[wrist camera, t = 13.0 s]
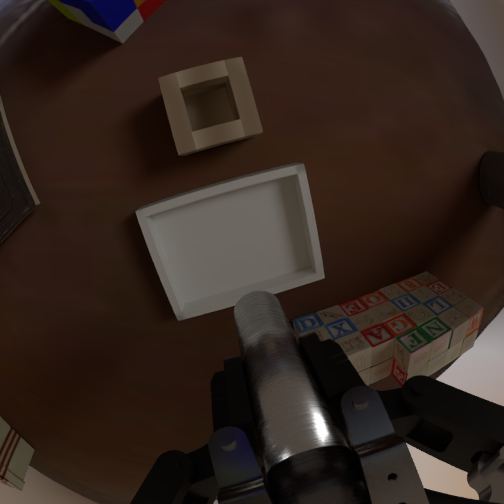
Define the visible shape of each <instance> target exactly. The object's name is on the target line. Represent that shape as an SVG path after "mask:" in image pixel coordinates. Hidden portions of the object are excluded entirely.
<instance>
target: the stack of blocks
mask: <svg viewBox="0 0 504 504" xmlns="http://www.w3.org/2000/svg"><path fill="white" fill-rule="evenodd" d="M482 313H483V307H482V306H480V305H478V304H477V303H475V302H474V301H472V300H471V299H469V298H468V297H467V296H465V295H464V294H463V293H461V292H459V291H458V290H456V289H455V288H452V287H451V286H449V285H448V284H446V283H444V282H443V281H441V280H439V279H438V278H437V277H435V276H434V275H432V274H430V273H429V272H427V271H426V272H424V273H421V274H419V275H416V276H414V277H410V278H408V279H405V280H402V281H400V282H397V283H395V284H392V285H389V286H387V287H384V288H381V289H379V290H378V291H375V292H373V293H370V294H367V295H365V296H362V297H360V298H358V299H355V300H351V301H349V302H346V303H343V304H340V305H335V306H333V307H330V308H327V309H323V310H320V311H317V312H315V313H311V314H308V315H305V316H302V317H299V318H295V319H293V326H294V331H295V335H296V338H297V340H298V342H299V339H298V337H300V336H303V335H306V334H309V333H312V332H316V334H317V335H318V337H319V339H320V341H324V340H327V339H332V340H333V341H335V342H337V343H338V344H339V345H340V346H341V348H342V349H343V351H344V353H345V354H346V355H347V357H348V359H349V360H350V361H351V363H352V364H353V366H354V367H355V369H356V371H357V372H358V374H359V375H360V377H361V378H362V380H363V381H364V383H365V384H366V385H369V384H372V383H374V382H376V381H379V380H381V379H383V378H385V377H387V376H388V375H390V374H391V373H392V376H393V377H394V378H395V379H396V380H397V382H398V383H399V384H400V386H401V387H402V386H403V384H404V382H405V381H406V380H408V379H409V378H411V377H413V376H417V375H424V376H430V375H431V374H433V373H434V372H436V371H438V370H439V369H441V368H442V367H443V366H445V365H447V364H448V363H450V362H451V361H453V360H454V359H456V358H457V357H458V356H460V355H462V354H463V353H465V352H466V351H467V350H469V349H470V348H472V347H473V345H474V342H475V339H476V336H477V332H478V328H479V325H480V321H481V317H482Z"/></svg>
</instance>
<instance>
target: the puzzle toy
mask: <svg viewBox="0 0 504 504" xmlns="http://www.w3.org/2000/svg"><path fill="white" fill-rule="evenodd" d="M48 1H49V2H50V3H51V4H52V5H54V6H55V7H56V8H57V9H58V10H59V11H60V12H61V13H63V14H64V15H65V16H66V17H67V18H68V19H70V20H73V21H75V22H78V23H80V24H82V25H85V26H87V27H89V28H91V29H94V30H96V31H98V32H100V33H102V34H104V35H106V36H108V37H110V38H112V39H114V40H116V41H118V42H120V43H122V44H123V43H124V42H125V41H126V40H127V39H128V38H129V36H130V35H131V34H132V33H133V32H134V31H135V30H136V29H137V28H138V27H139V26H140V25H141V24H142V23H143V22H144V21H145V20H146V19H147V18H148V17H149V16H150V15H151V14H152V13H153V12H154V11H155V10H156V9H157V8H158V7H159V6H160V5H161V4H163V3H164V2H165V1H166V0H48Z"/></svg>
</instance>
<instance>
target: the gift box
mask: <svg viewBox="0 0 504 504" xmlns="http://www.w3.org/2000/svg"><path fill="white" fill-rule="evenodd" d="M33 453H34V449H33V448H32V447H31V446H30V445H29V444H28V443H27V442H26V441H25V440H24V439H23V438H21V437H20V436H19V435H18V434H17V433H16V432H15V431H14V430H13V429H12V428H11V427H10V426H9V425H8V424H7V423H6V422H5V421H4V420H3V419H2V417H1V416H0V482H1V483H3V484H6V485H8V486H10V487H13V488H16V489H18V490H22V489H23V486H24V483H25V482H24V481H23V480H24V477H25V474H26V472H27V469H28V466H29V463H30V461H31V458H32V455H33Z"/></svg>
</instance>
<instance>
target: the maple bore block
mask: <svg viewBox="0 0 504 504" xmlns="http://www.w3.org/2000/svg"><path fill="white" fill-rule="evenodd" d="M158 79H159V83H160V87H161V91H162V95H163V99H164V103H165V107H166V111H167V115H168V119H169V123H170V126H171V130H172V134H173V138H174V141H175V145H176V149H177V152H178V155H181V156H185V155H189V154H192V153H195V152H199V151H202V150H205V149H209V148H212V147H216V146H220V145H223V144H227V143H231V142H235V141H239V140H243V139H247V138H251V137H254V136H257V135H259V134H261V133H263V130H262V127H261V123H260V119H259V115H258V112H257V108H256V104H255V101H254V97H253V94H252V90H251V87H250V83H249V80H248V76H247V73H246V69H245V66H244V62H243V59H242V57H238V58H233V59H228V60H223V61H218V62H214V63H210V64H205V65H201V66H197V67H194V68H190V69H186V70H183V71H179V72H176V73H173V74H170V75H166V76H163V77H160V78H158Z"/></svg>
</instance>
